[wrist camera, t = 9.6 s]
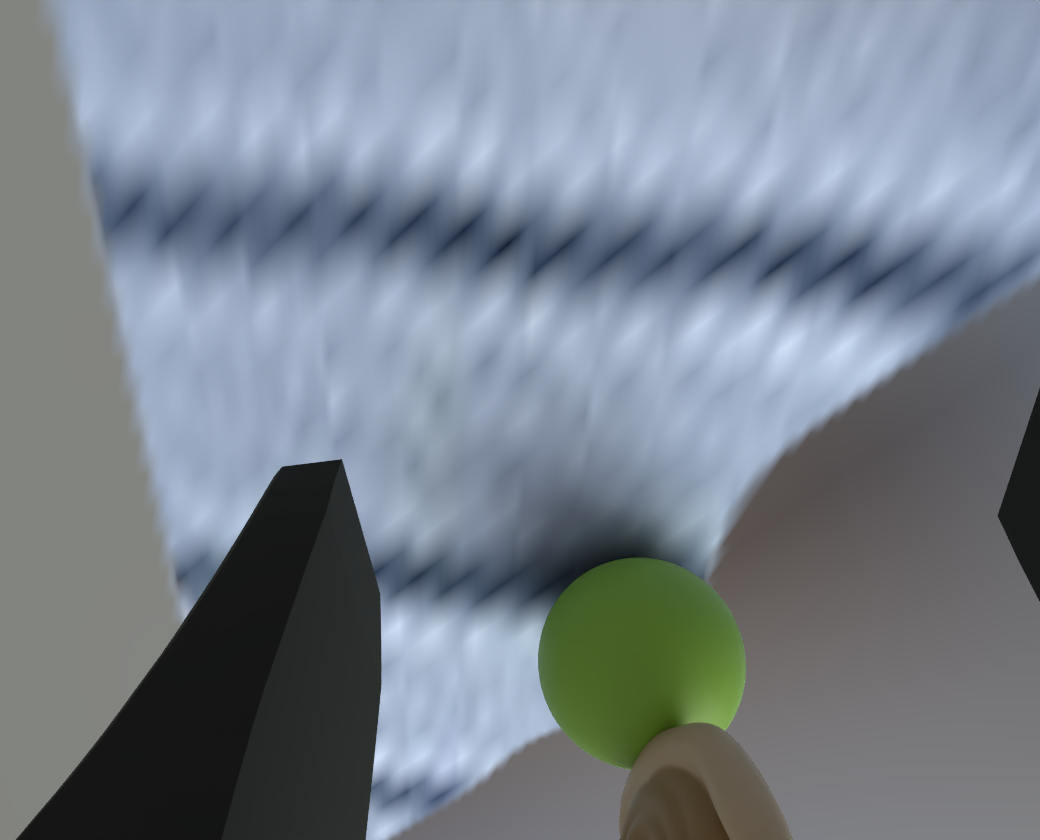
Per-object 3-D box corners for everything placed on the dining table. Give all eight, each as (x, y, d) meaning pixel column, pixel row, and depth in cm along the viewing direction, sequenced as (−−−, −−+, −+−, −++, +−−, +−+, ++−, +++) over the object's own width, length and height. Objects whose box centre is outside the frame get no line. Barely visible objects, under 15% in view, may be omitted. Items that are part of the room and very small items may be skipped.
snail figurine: (766, 511, 25) (978, 1002, 15) (666, 655, 28) (787, 1124, 19) (585, 471, 23) (694, 985, 14) (503, 628, 27) (545, 1121, 17)
